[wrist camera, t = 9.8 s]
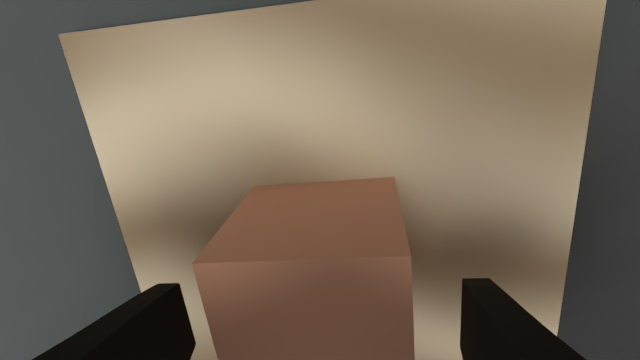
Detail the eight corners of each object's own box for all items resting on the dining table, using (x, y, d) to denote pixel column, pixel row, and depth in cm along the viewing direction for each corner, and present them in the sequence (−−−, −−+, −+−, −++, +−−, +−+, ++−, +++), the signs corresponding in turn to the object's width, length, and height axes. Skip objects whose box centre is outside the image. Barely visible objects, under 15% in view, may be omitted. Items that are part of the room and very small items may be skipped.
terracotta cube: (400, 298, 13) (417, 423, 8) (275, 300, 13) (233, 417, 9) (394, 176, 11) (410, 255, 7) (253, 186, 12) (191, 263, 8)
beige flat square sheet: (538, 400, 14) (545, 414, 14) (182, 388, 16) (176, 400, 16) (597, -34, 9) (612, -39, 9) (73, 35, 11) (58, 34, 11)
